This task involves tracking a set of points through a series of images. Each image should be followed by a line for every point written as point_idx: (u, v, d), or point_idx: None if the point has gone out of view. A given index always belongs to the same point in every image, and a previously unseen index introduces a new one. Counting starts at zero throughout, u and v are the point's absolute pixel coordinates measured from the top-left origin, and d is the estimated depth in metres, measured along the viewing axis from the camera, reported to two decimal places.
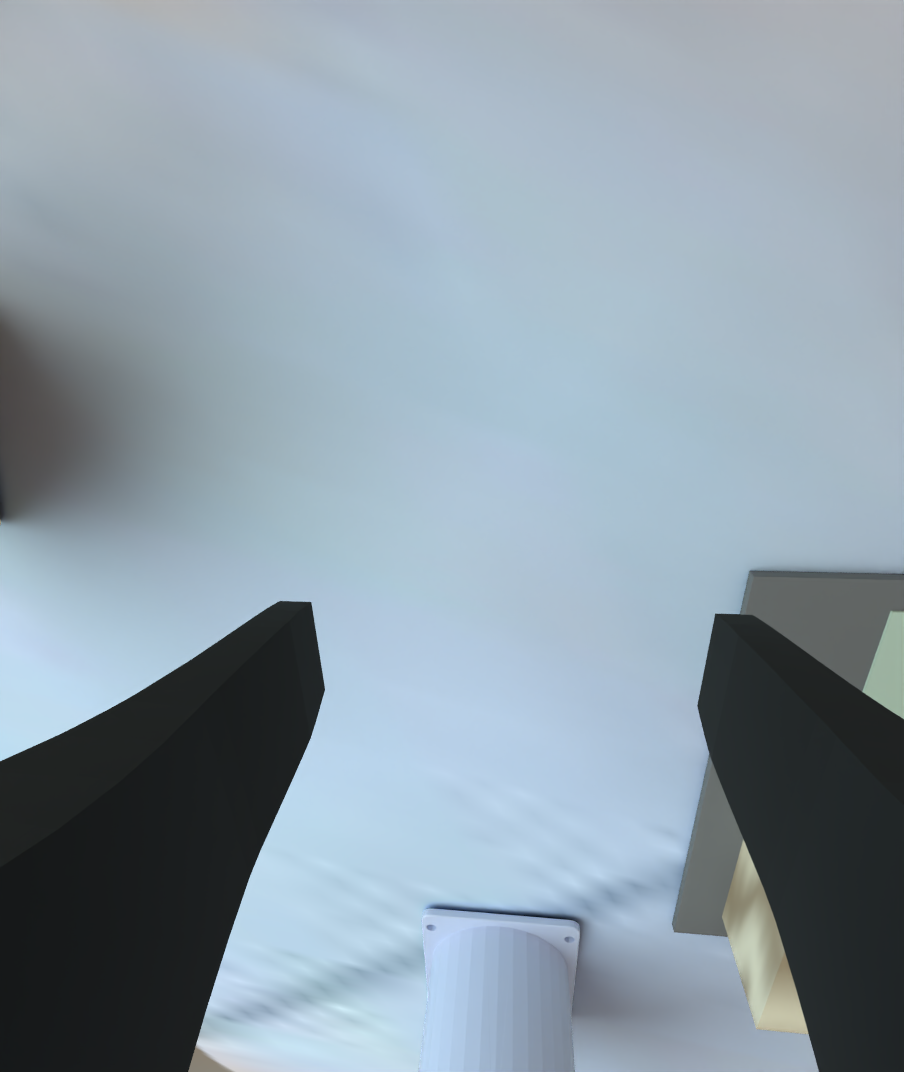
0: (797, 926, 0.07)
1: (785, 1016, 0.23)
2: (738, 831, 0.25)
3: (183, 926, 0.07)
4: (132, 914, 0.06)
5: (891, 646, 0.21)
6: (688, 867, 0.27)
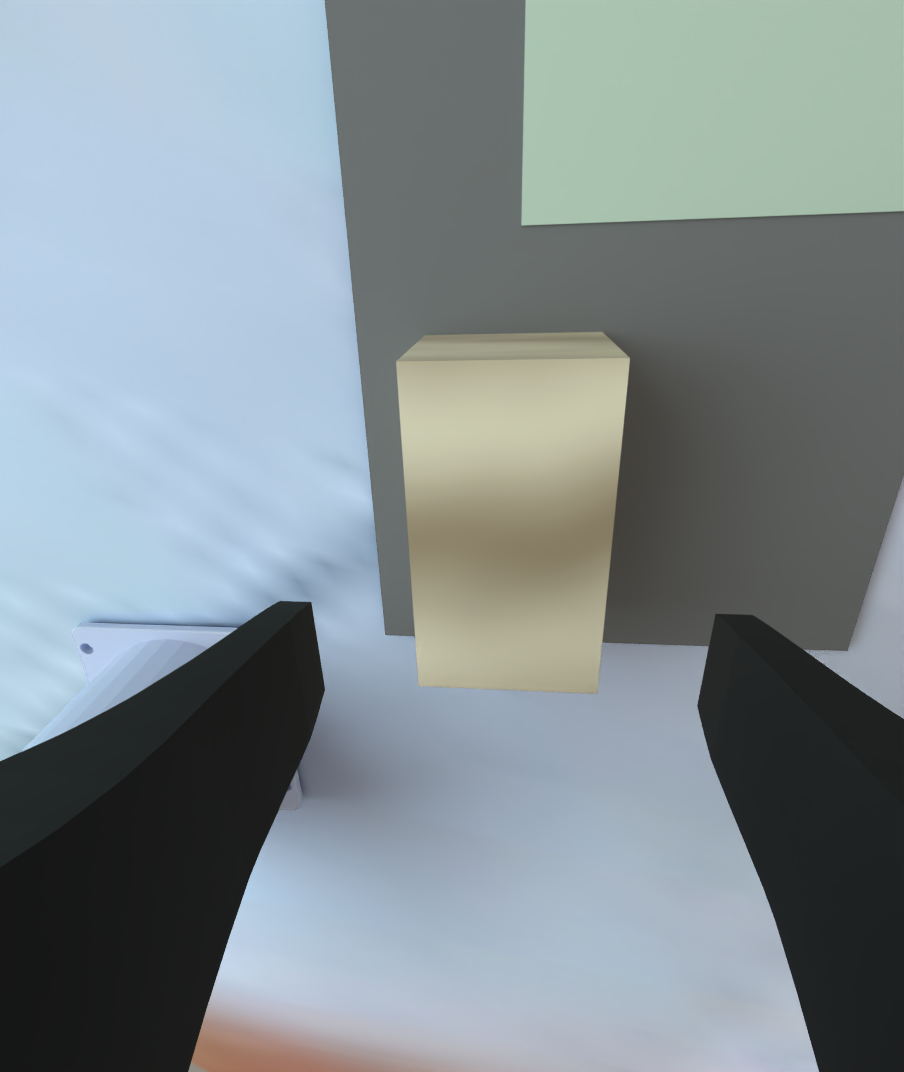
0: (797, 926, 0.07)
1: (448, 655, 0.16)
2: None
3: (183, 926, 0.07)
4: (132, 914, 0.06)
5: (541, 19, 0.14)
6: (374, 515, 0.20)
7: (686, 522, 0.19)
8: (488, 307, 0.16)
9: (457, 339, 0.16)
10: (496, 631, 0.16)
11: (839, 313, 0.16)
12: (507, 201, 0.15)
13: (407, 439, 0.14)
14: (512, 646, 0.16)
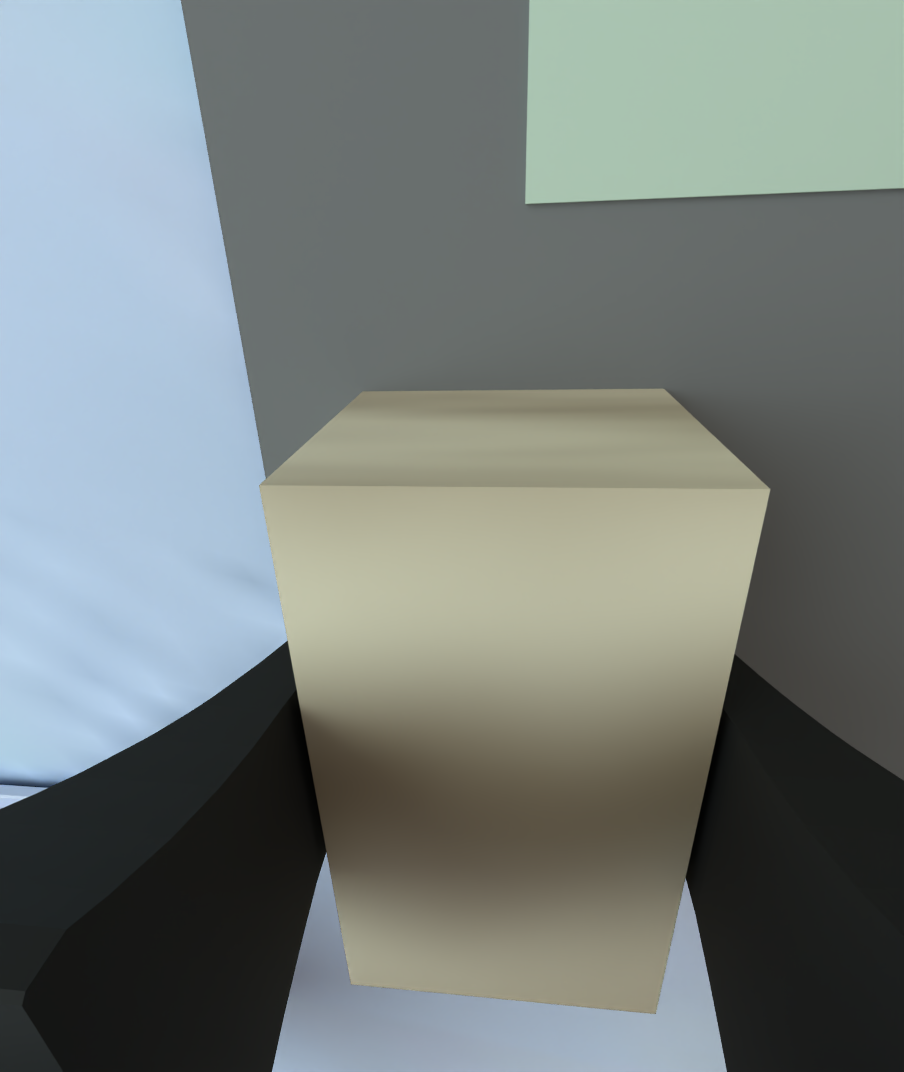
0: (710, 919, 0.07)
1: (398, 949, 0.09)
2: None
3: (267, 933, 0.07)
4: (228, 922, 0.06)
5: None
6: None
7: (785, 680, 0.12)
8: (468, 346, 0.10)
9: (412, 406, 0.09)
10: (480, 924, 0.09)
11: None
12: (500, 159, 0.08)
13: (296, 628, 0.07)
14: (509, 945, 0.09)
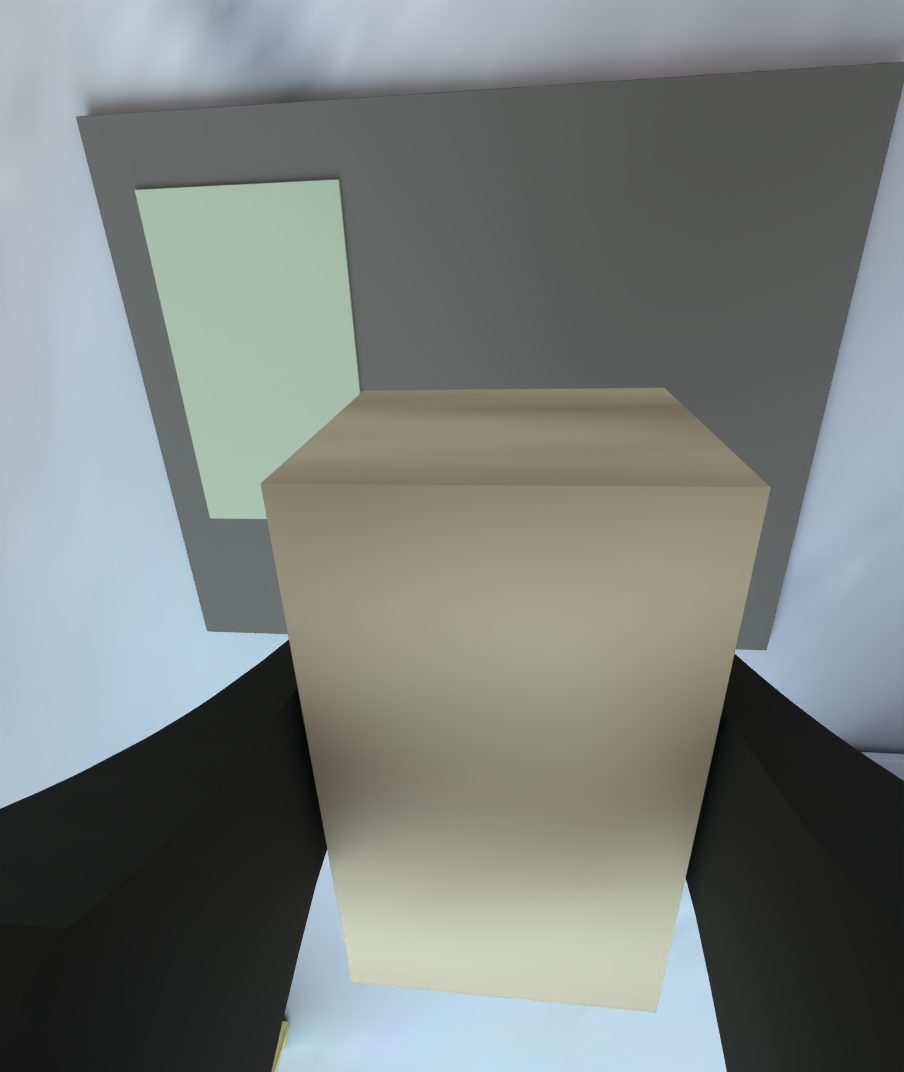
0: (710, 919, 0.07)
1: (399, 948, 0.09)
2: None
3: (266, 934, 0.07)
4: (227, 922, 0.06)
5: (248, 508, 0.20)
6: None
7: (658, 344, 0.16)
8: None
9: (413, 404, 0.09)
10: (481, 922, 0.09)
11: (431, 226, 0.15)
12: None
13: (298, 627, 0.07)
14: (510, 943, 0.09)
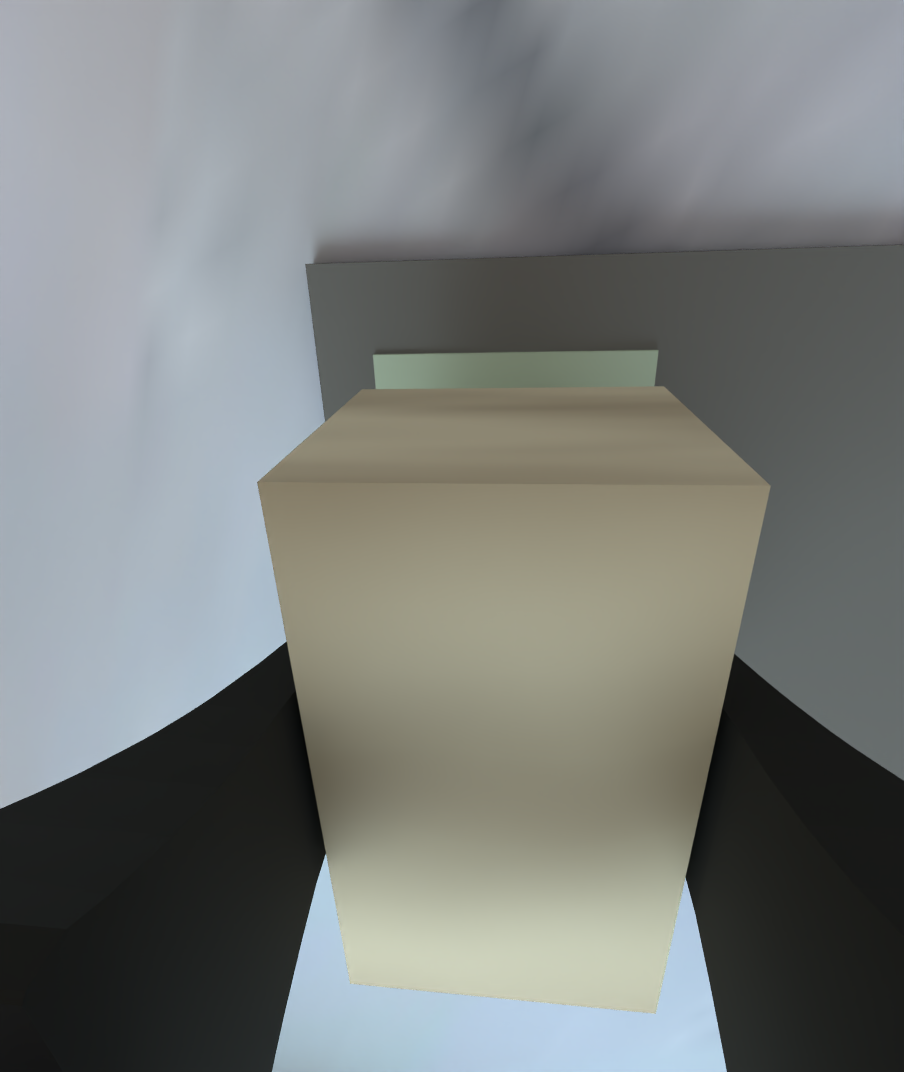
0: (710, 919, 0.07)
1: (397, 949, 0.09)
2: None
3: (266, 933, 0.07)
4: (228, 922, 0.06)
5: None
6: None
7: None
8: None
9: (411, 403, 0.09)
10: (479, 924, 0.09)
11: (772, 408, 0.12)
12: None
13: (295, 626, 0.07)
14: (509, 944, 0.09)
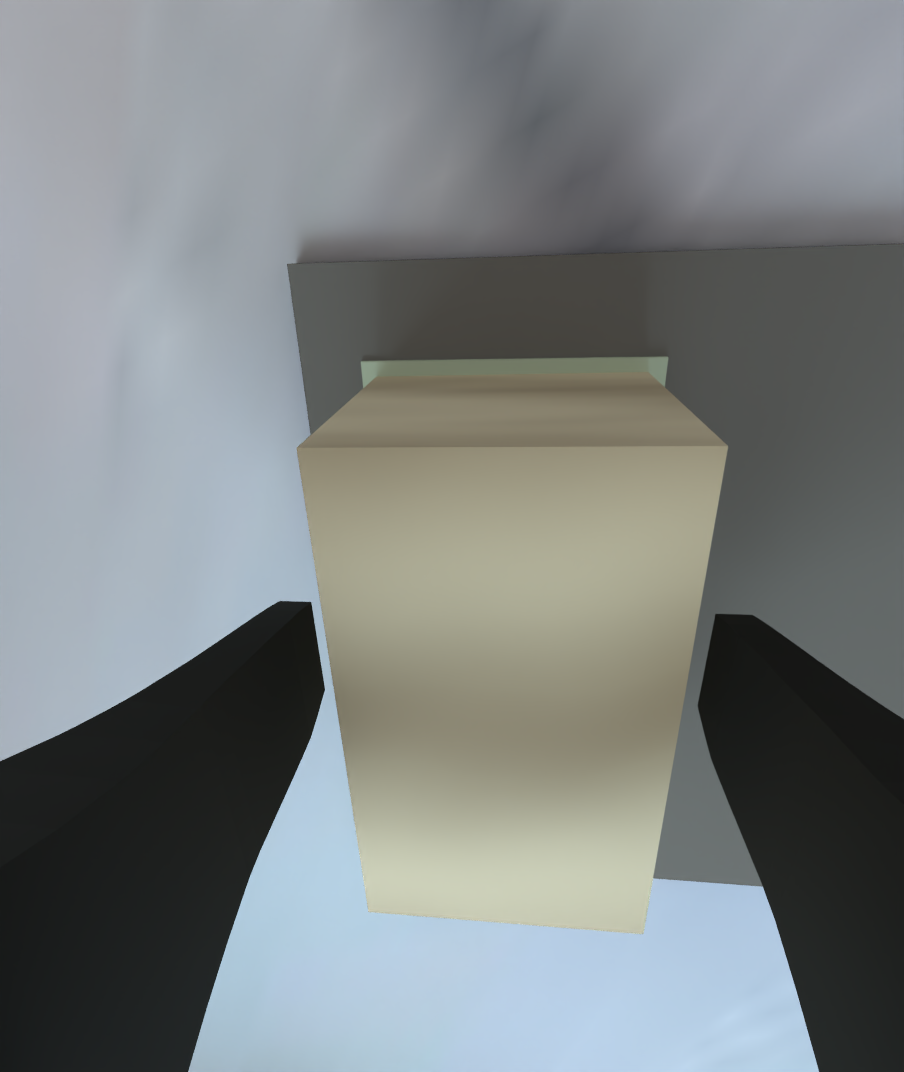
0: (797, 926, 0.07)
1: (411, 876, 0.10)
2: None
3: (183, 926, 0.07)
4: (132, 914, 0.06)
5: None
6: None
7: None
8: (695, 782, 0.15)
9: (422, 387, 0.10)
10: (485, 850, 0.10)
11: (790, 419, 0.11)
12: None
13: (326, 575, 0.08)
14: (511, 869, 0.10)
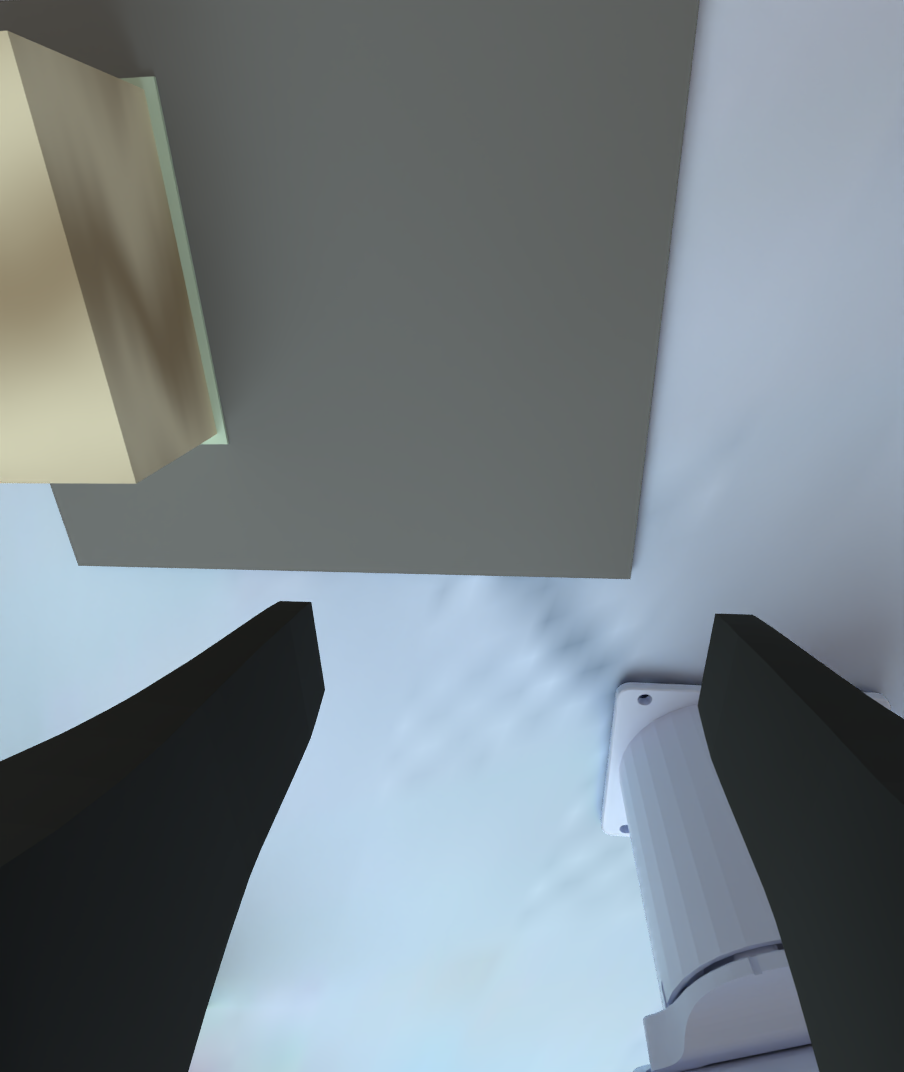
0: (797, 926, 0.07)
1: None
2: (410, 529, 0.20)
3: (183, 926, 0.07)
4: (132, 914, 0.06)
5: None
6: (488, 574, 0.20)
7: (490, 252, 0.16)
8: (292, 469, 0.19)
9: None
10: (7, 407, 0.14)
11: (252, 127, 0.15)
12: (214, 454, 0.19)
13: None
14: (30, 426, 0.14)
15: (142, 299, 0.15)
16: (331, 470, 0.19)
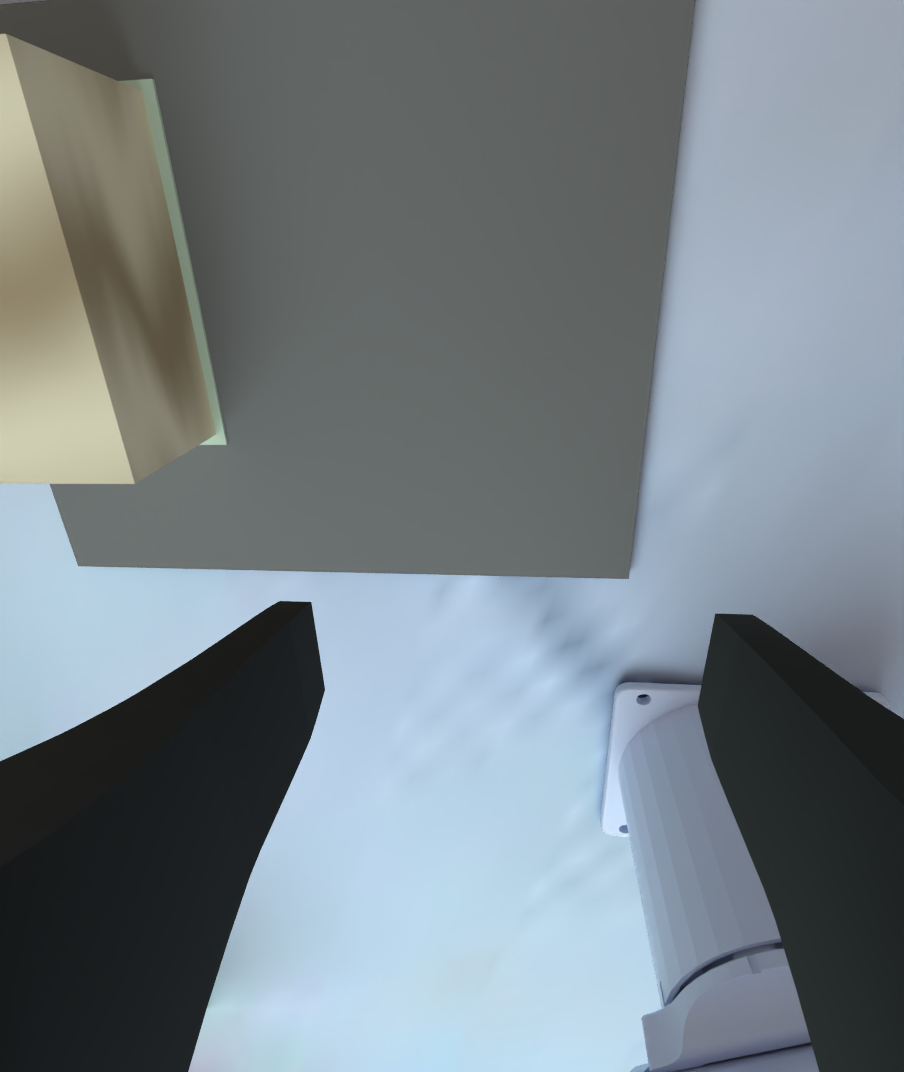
0: (797, 926, 0.07)
1: None
2: (409, 529, 0.20)
3: (183, 926, 0.07)
4: (132, 914, 0.06)
5: None
6: (486, 574, 0.20)
7: (488, 252, 0.16)
8: (291, 469, 0.19)
9: None
10: (6, 408, 0.14)
11: (250, 129, 0.15)
12: (213, 454, 0.19)
13: None
14: (29, 426, 0.15)
15: (141, 300, 0.15)
16: (330, 471, 0.19)
